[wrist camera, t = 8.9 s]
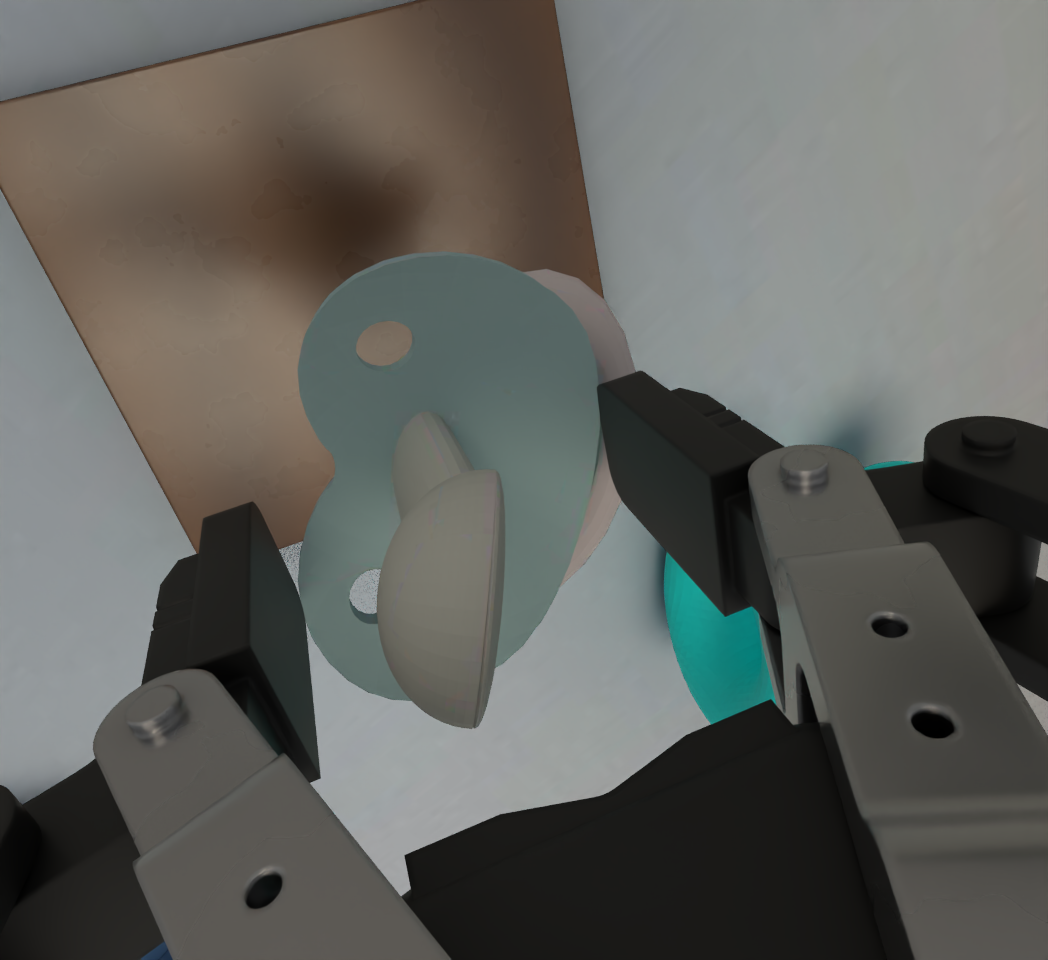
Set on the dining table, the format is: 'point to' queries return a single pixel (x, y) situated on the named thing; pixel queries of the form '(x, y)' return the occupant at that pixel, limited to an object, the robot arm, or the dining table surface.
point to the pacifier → (454, 469)
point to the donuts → (718, 645)
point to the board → (286, 217)
